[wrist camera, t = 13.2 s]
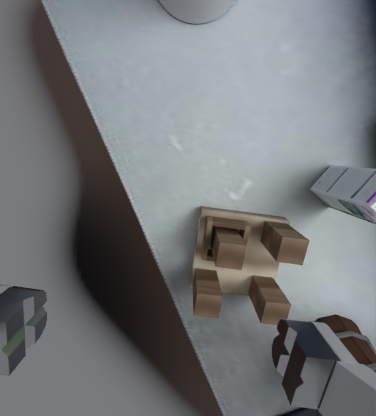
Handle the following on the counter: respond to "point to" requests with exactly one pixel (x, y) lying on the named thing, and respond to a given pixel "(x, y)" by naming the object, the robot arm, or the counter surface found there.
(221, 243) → the stool leg
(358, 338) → the mug
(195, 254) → the stool seat
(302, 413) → the dark slate chunk
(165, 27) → the counter surface
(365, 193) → the syrup box
